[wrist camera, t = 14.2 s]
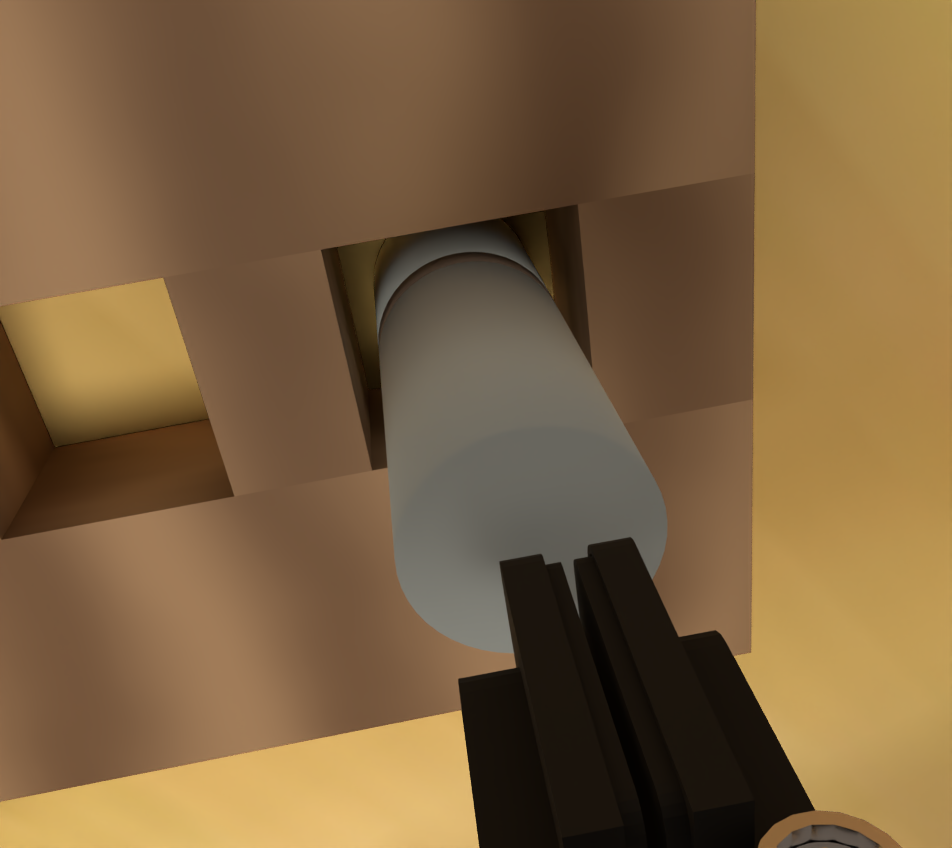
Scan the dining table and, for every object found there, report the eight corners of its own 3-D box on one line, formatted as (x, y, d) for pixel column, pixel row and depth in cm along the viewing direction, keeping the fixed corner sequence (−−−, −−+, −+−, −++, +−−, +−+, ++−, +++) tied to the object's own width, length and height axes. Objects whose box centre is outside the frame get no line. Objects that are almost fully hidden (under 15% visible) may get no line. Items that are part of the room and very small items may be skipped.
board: (676, -264, 18) (757, -314, 14) (698, 560, 27) (750, 652, 24) (-385, -98, 17) (-580, -107, 13) (27, 690, 26) (-22, 806, 23)
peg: (519, 190, 21) (660, 400, 12) (537, 337, 23) (672, 624, 14) (358, 218, 21) (369, 456, 12) (390, 365, 23) (421, 675, 13)
